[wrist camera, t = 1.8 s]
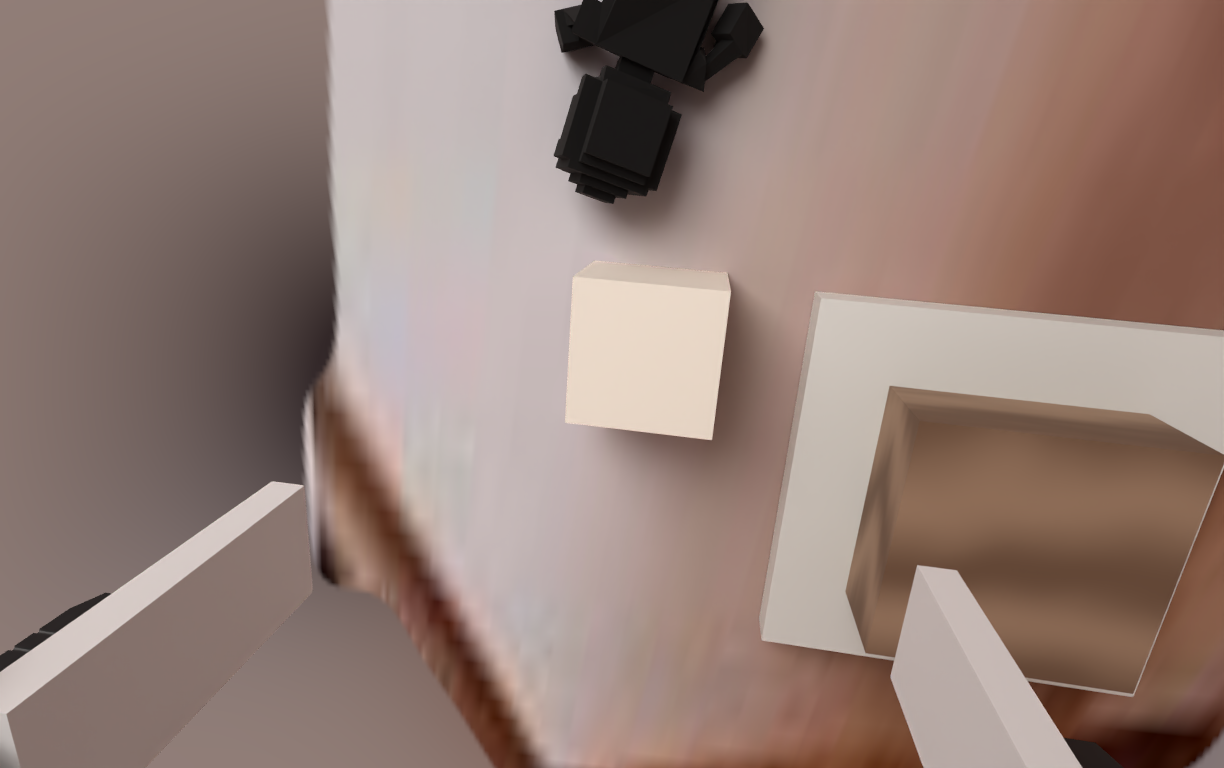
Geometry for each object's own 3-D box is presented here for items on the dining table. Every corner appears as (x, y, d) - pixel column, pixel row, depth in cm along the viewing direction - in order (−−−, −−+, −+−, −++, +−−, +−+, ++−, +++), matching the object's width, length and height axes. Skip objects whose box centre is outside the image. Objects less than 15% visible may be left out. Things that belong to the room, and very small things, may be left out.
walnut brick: (889, 385, 33) (919, 420, 28) (1149, 414, 32) (1226, 456, 27) (845, 591, 37) (865, 653, 32) (1076, 624, 35) (1132, 694, 31)
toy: (502, 125, 34) (467, 116, 29) (676, -169, 29) (672, -241, 24) (630, 221, 34) (618, 228, 29) (821, -53, 30) (846, -100, 25)
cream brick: (594, 260, 35) (573, 276, 30) (727, 272, 35) (730, 291, 29) (587, 385, 37) (564, 422, 32) (711, 399, 37) (711, 440, 31)
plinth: (814, 291, 34) (820, 298, 32) (1240, 332, 32) (1273, 341, 30) (759, 618, 40) (761, 640, 38) (1111, 671, 38) (1133, 697, 36)
